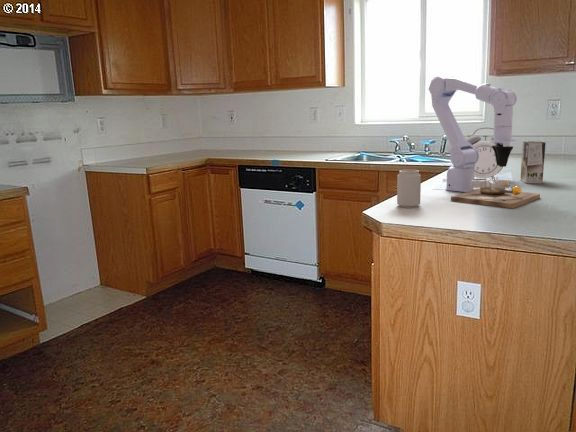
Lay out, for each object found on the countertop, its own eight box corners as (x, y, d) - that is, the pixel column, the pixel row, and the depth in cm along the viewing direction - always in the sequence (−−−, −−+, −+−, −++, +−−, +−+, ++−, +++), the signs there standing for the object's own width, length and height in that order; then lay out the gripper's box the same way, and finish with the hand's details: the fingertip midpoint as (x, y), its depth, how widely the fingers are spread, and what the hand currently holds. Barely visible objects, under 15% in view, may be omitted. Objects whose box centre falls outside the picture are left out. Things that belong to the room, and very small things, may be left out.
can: (421, 204, 164) (421, 168, 161) (419, 208, 157) (420, 171, 154) (398, 203, 166) (398, 168, 164) (395, 208, 159) (396, 171, 157)
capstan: (474, 197, 162) (475, 184, 161) (469, 189, 176) (469, 178, 175) (522, 197, 159) (522, 184, 158) (512, 189, 173) (513, 177, 172)
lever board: (450, 200, 167) (451, 195, 166) (480, 191, 180) (480, 187, 180) (512, 208, 152) (512, 203, 151) (539, 198, 165) (540, 193, 165)
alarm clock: (461, 181, 206) (463, 128, 201) (465, 178, 213) (467, 127, 208) (503, 182, 198) (506, 127, 193) (505, 179, 205) (509, 126, 200)
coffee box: (543, 183, 192) (546, 142, 188) (525, 183, 193) (528, 142, 190) (536, 180, 201) (539, 140, 197) (519, 180, 202) (522, 141, 198)
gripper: (520, 126, 160) (518, 167, 163) (511, 125, 174) (509, 163, 177) (497, 127, 162) (496, 168, 165) (489, 126, 176) (488, 163, 178)
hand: (501, 165), depth 171 cm, fingers open, 4 cm apart
